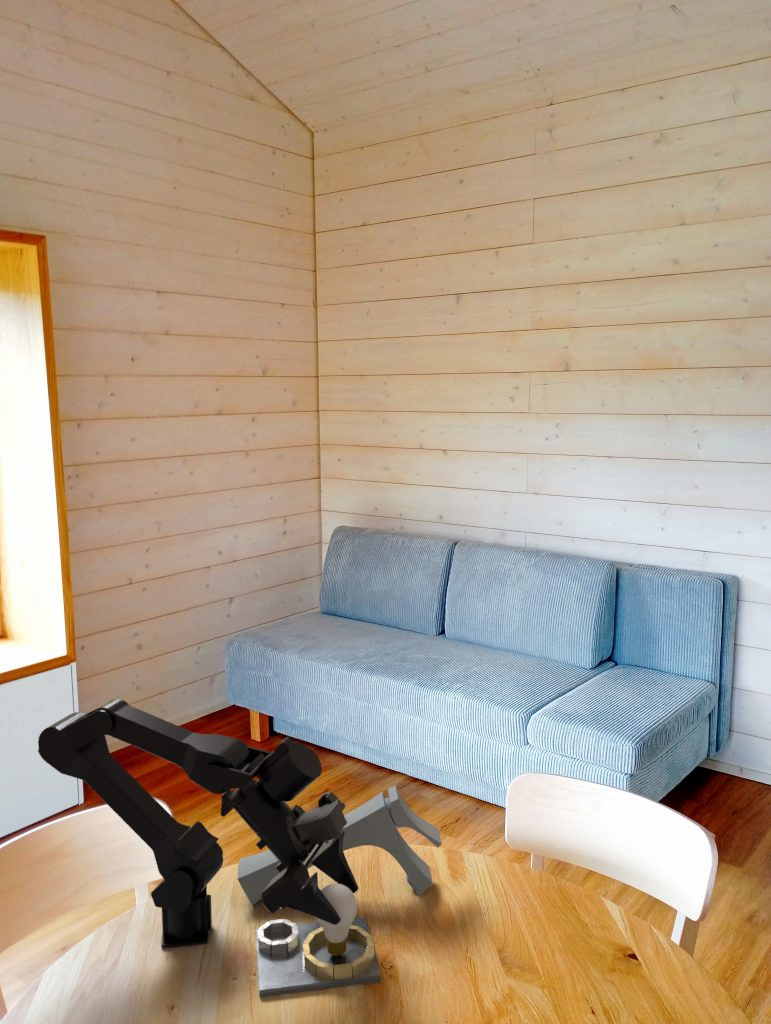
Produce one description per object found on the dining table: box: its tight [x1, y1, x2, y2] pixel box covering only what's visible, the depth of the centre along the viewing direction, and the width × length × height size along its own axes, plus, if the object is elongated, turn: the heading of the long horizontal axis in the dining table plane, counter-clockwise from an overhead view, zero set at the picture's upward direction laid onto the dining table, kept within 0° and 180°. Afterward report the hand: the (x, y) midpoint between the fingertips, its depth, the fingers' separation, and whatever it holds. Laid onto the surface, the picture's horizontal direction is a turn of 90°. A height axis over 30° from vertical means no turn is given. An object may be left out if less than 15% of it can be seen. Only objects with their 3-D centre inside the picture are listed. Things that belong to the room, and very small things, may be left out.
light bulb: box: [315, 883, 358, 956], centre depth 117 cm, size 6×6×10 cm
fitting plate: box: [255, 915, 382, 998], centre depth 118 cm, size 16×13×2 cm
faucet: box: [237, 784, 443, 906], centre depth 134 cm, size 6×17×30 cm
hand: (347, 906), depth 116 cm, fingers open, 7 cm apart
